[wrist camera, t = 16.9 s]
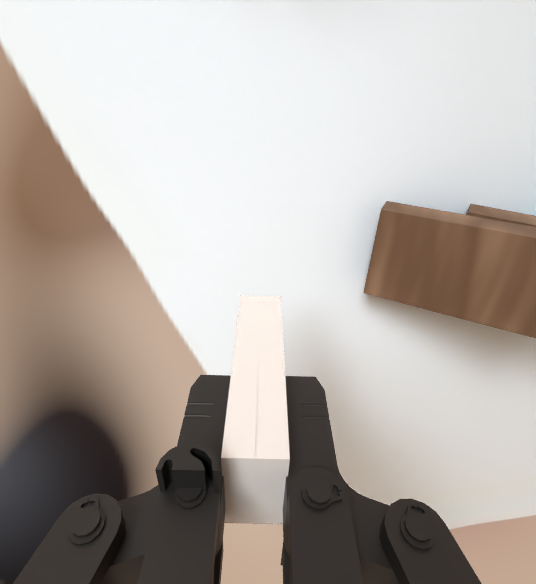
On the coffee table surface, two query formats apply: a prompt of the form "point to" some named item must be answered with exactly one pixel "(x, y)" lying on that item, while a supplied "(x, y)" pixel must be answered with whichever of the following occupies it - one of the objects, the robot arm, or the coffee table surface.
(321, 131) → the coffee table surface
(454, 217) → the domino
